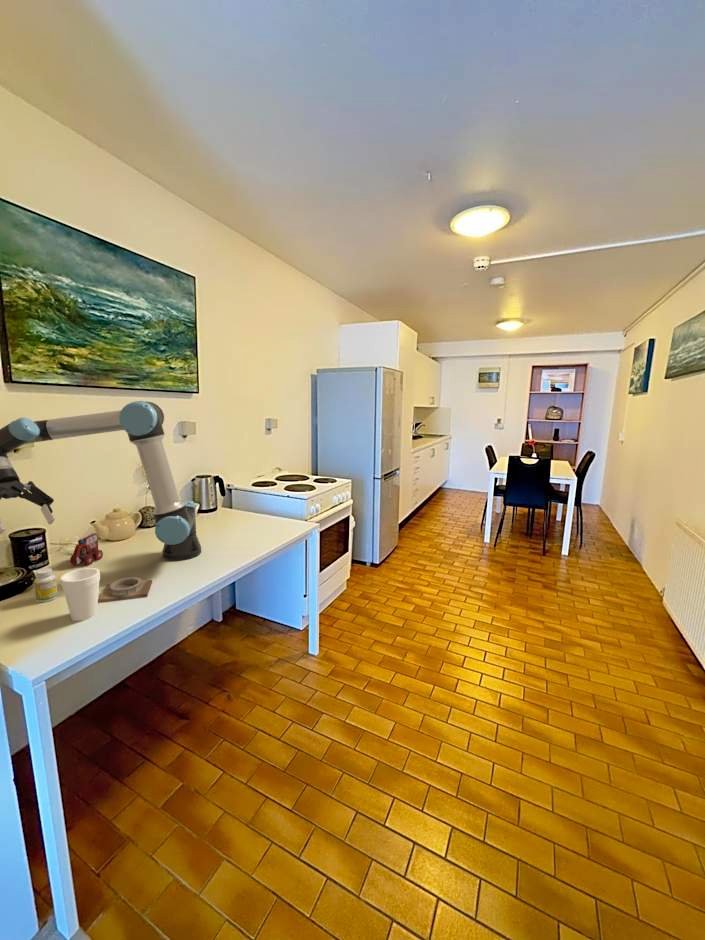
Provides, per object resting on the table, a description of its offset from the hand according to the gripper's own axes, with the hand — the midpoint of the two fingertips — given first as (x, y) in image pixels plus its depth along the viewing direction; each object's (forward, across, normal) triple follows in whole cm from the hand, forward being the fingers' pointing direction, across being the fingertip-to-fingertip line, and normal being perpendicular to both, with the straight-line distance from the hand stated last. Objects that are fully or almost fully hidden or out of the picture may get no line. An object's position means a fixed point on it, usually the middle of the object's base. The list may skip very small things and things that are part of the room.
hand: (28, 526), depth 123 cm
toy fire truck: (+9, -25, -23) cm, 35 cm away
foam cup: (+36, +1, +5) cm, 36 cm away
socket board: (+33, -15, +4) cm, 37 cm away
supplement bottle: (+22, -1, -10) cm, 24 cm away
